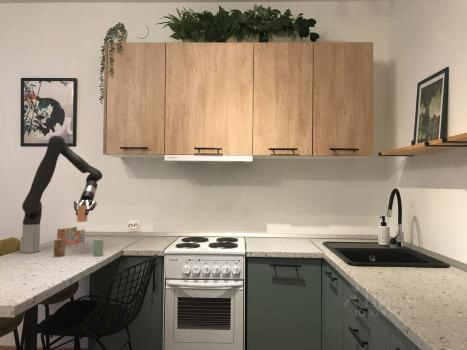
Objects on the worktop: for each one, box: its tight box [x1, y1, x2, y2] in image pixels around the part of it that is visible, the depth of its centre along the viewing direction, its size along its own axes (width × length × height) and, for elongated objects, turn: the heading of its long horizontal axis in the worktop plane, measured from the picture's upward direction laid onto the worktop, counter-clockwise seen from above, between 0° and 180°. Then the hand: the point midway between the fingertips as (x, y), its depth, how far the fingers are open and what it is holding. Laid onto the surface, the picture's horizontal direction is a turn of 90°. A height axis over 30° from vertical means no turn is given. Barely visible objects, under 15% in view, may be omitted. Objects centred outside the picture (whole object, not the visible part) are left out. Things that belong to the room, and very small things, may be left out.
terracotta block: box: [76, 205, 88, 223], centre depth 194 cm, size 4×4×10 cm
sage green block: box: [92, 238, 104, 257], centre depth 191 cm, size 4×4×10 cm
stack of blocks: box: [56, 226, 85, 248], centre depth 227 cm, size 21×6×12 cm, turn 171°
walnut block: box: [53, 238, 66, 258], centre depth 188 cm, size 4×4×10 cm
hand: (81, 214), depth 192 cm, fingers closed on terracotta block, 4 cm apart
